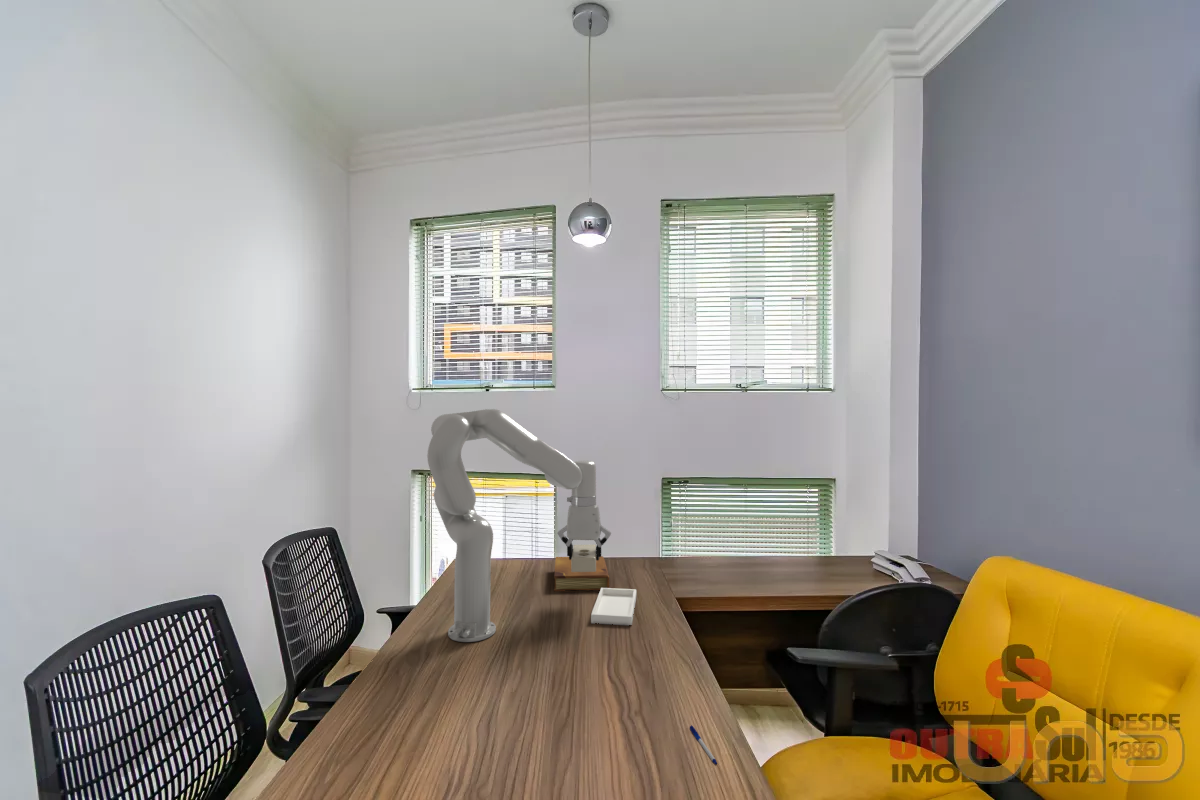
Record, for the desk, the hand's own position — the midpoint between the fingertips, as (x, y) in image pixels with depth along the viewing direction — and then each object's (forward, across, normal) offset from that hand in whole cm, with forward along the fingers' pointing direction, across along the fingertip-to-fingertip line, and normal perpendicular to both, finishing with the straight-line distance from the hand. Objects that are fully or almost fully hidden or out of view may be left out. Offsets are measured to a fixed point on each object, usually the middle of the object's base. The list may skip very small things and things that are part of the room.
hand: (584, 558), depth 157 cm
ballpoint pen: (+16, +30, -61) cm, 70 cm away
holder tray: (+15, +9, +1) cm, 18 cm away
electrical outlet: (+2, 0, +1) cm, 2 cm away
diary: (+16, -5, +27) cm, 32 cm away
